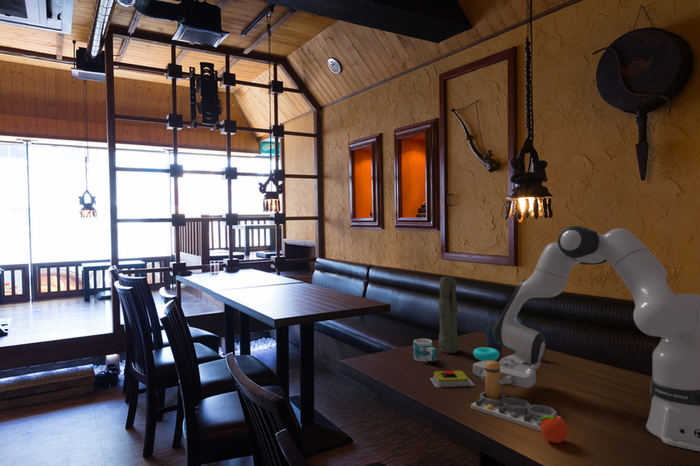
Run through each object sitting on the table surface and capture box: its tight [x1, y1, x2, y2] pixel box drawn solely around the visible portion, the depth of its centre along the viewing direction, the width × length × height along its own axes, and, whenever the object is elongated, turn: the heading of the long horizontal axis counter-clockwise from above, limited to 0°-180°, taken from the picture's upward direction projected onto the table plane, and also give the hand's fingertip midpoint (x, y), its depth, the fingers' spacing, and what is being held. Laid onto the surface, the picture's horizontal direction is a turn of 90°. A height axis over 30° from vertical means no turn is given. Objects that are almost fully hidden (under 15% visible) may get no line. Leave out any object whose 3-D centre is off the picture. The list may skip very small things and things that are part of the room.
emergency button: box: [429, 370, 475, 388], centre depth 165 cm, size 9×4×15 cm
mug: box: [413, 338, 437, 363], centre depth 191 cm, size 8×12×8 cm
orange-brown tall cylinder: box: [484, 361, 501, 400], centre depth 144 cm, size 5×5×12 cm
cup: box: [485, 325, 503, 362], centre depth 187 cm, size 7×7×15 cm
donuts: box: [472, 346, 500, 378], centre depth 172 cm, size 10×10×10 cm
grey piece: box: [470, 390, 562, 433], centre depth 137 cm, size 24×11×3 cm, turn 43°
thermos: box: [437, 275, 459, 353], centre depth 205 cm, size 9×12×35 cm
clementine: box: [537, 415, 569, 444], centre depth 120 cm, size 8×7×7 cm
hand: (491, 379), depth 143 cm, fingers closed on orange-brown tall cylinder, 4 cm apart
